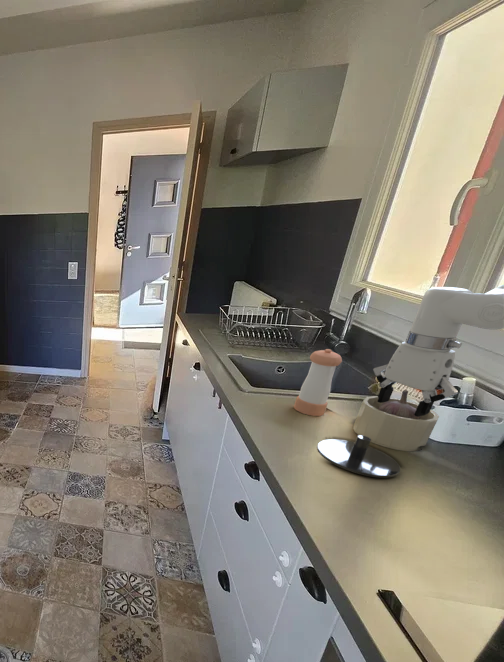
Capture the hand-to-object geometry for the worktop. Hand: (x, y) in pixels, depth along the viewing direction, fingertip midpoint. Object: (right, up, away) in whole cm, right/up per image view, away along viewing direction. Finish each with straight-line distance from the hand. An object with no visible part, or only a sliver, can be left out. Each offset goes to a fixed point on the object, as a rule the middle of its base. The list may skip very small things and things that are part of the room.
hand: (400, 407), depth 97 cm
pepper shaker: (-10, -2, +17) cm, 20 cm away
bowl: (0, -8, +3) cm, 9 cm away
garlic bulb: (0, -3, +1) cm, 3 cm away
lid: (-17, -11, -6) cm, 21 cm away
